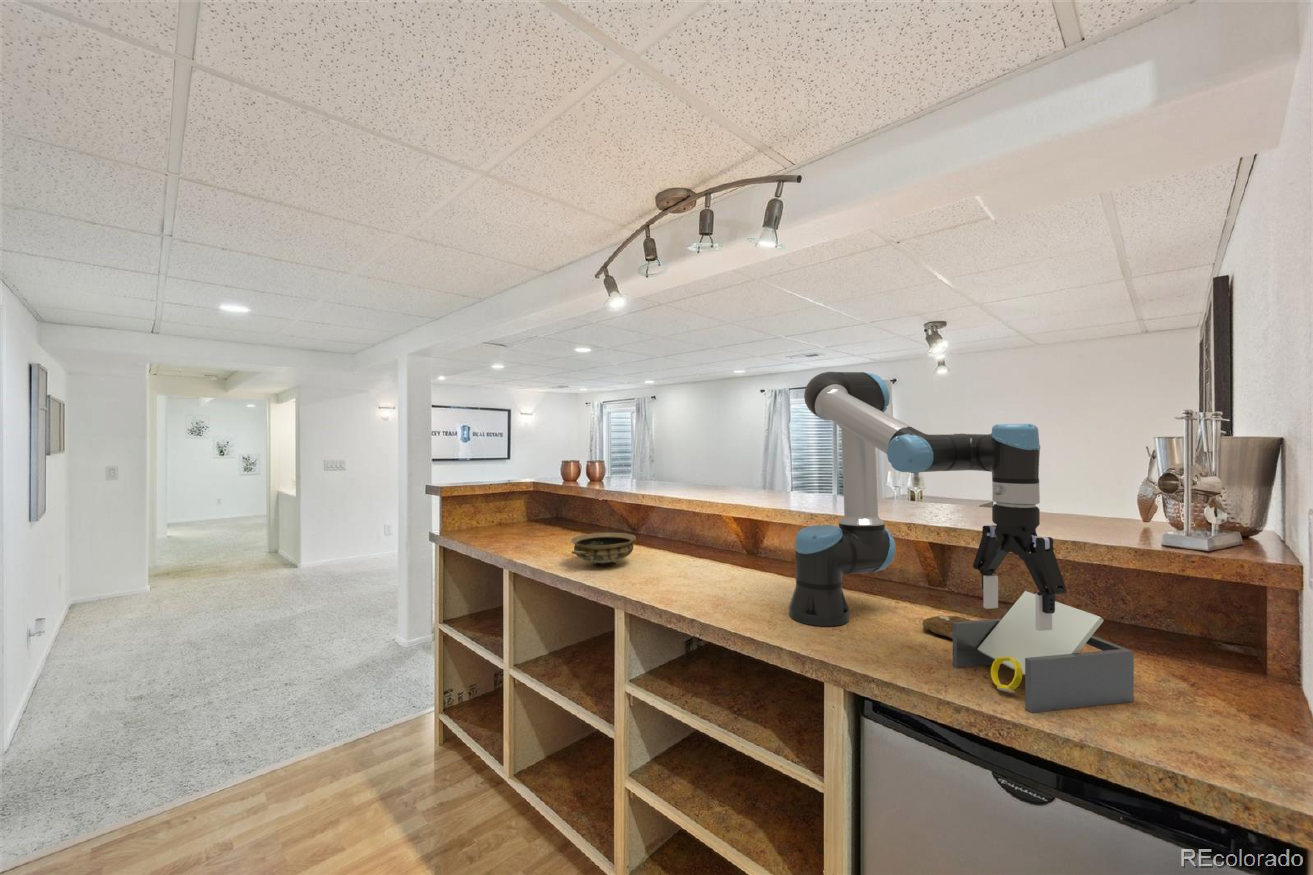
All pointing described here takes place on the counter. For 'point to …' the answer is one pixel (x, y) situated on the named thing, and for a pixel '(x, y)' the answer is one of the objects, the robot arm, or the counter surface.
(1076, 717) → the counter surface
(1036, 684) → the stand
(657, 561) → the counter surface
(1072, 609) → the trapdoor
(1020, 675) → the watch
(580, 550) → the ceramic bowl
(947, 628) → the decorative rock
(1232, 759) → the counter surface
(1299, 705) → the counter surface
